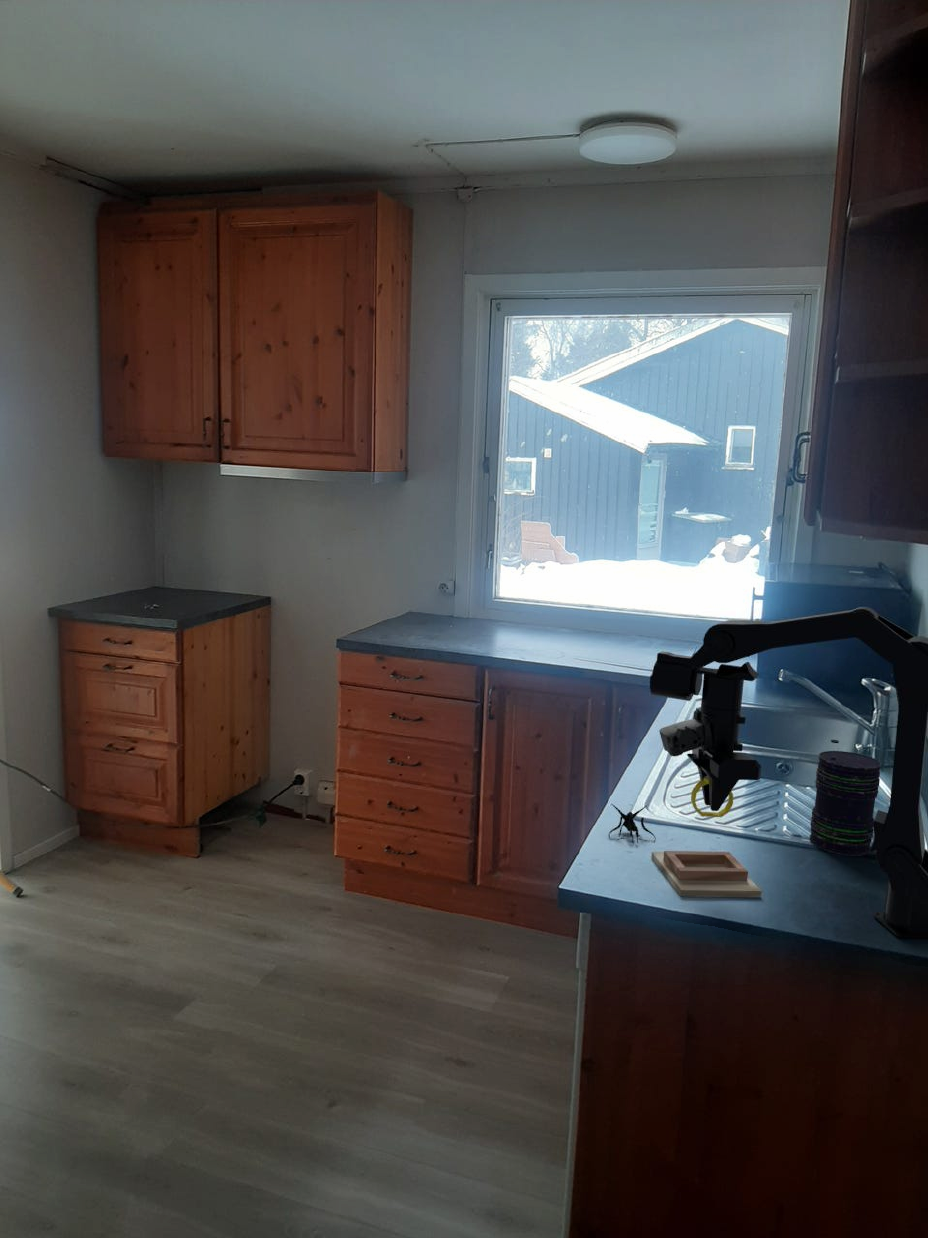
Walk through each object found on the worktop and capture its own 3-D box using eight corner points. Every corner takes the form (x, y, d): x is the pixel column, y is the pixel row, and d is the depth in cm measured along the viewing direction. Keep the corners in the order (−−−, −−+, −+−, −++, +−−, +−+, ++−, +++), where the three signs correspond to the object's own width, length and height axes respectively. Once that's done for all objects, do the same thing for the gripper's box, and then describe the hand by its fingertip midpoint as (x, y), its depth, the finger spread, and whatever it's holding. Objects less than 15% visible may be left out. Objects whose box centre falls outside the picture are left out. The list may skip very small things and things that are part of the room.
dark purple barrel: (855, 835, 163) (868, 735, 161) (881, 857, 154) (895, 751, 151) (799, 832, 163) (810, 732, 161) (822, 854, 153) (834, 748, 151)
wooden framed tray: (760, 897, 135) (762, 881, 135) (680, 896, 134) (682, 880, 134) (724, 858, 149) (726, 844, 149) (651, 857, 148) (652, 842, 147)
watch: (693, 819, 139) (694, 781, 138) (689, 813, 142) (690, 775, 141) (734, 819, 139) (735, 780, 138) (729, 812, 142) (730, 774, 141)
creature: (658, 853, 153) (648, 826, 160) (662, 825, 151) (652, 799, 158) (610, 851, 153) (603, 823, 160) (614, 823, 151) (606, 796, 158)
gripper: (649, 690, 146) (641, 786, 148) (689, 720, 128) (679, 829, 130) (717, 692, 147) (708, 788, 149) (767, 722, 129) (756, 831, 131)
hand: (711, 807), depth 140 cm, fingers closed on watch, 2 cm apart
